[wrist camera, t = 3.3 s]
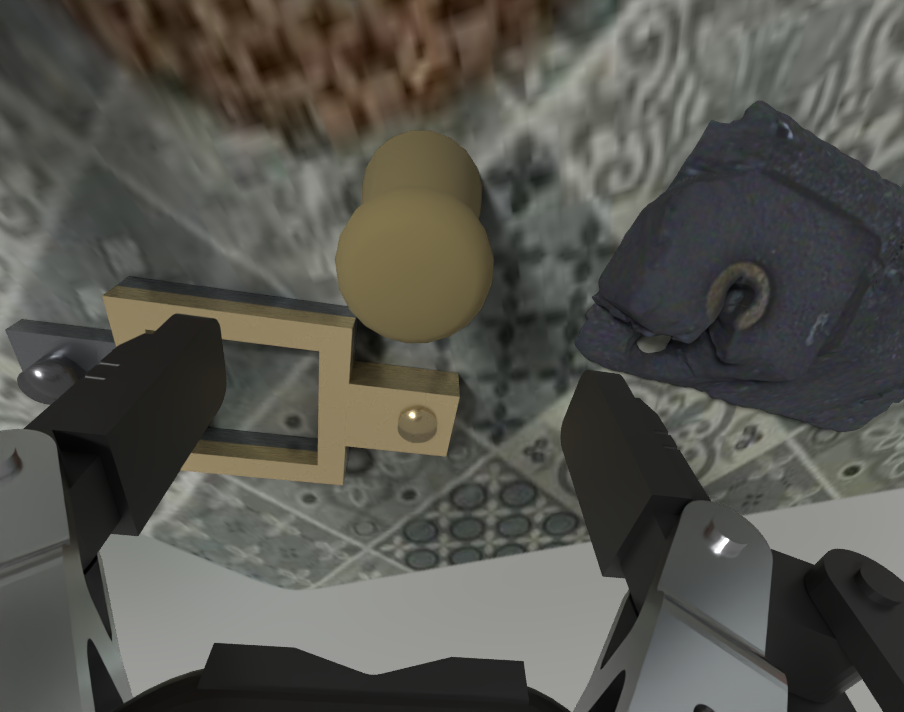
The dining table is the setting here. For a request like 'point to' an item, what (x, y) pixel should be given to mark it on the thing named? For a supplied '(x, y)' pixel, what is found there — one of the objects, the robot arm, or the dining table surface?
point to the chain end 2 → (340, 389)
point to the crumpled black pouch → (764, 278)
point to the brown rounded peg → (416, 241)
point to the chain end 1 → (81, 348)
